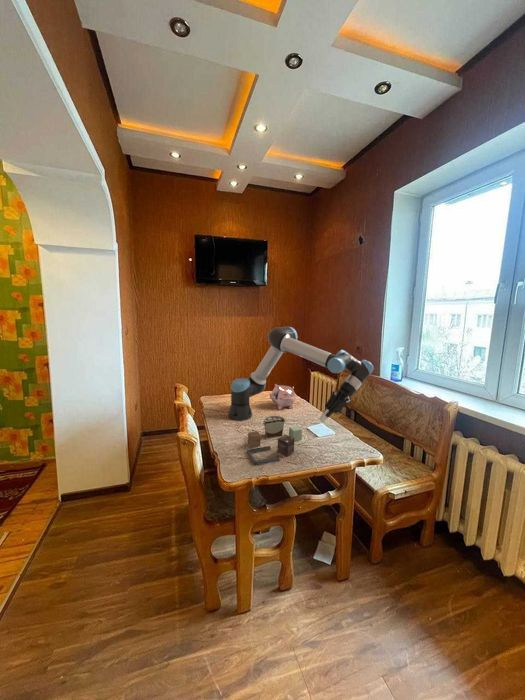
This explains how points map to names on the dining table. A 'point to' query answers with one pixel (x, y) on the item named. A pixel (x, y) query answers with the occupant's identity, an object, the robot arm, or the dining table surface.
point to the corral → (263, 461)
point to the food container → (273, 426)
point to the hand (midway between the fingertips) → (321, 420)
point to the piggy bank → (283, 396)
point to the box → (285, 445)
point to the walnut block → (254, 439)
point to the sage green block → (295, 433)
